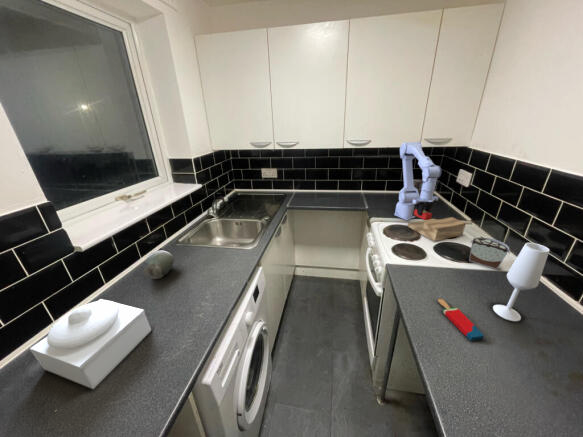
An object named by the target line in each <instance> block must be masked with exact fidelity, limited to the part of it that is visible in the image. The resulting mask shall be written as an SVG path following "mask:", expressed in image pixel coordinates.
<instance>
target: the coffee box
mask: <svg viewBox="0 0 583 437" xmlns="http://www.w3.org/2000/svg"><path fill="white" fill-rule="evenodd" d="M413 184H414V187H415V188H416V189H418V193H419V196H420V194H421V189H422V185H423V181H422V179H413ZM405 193H409V192H405Z"/></svg>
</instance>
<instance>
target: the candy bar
mask: <svg viewBox="0 0 583 437" xmlns="http://www.w3.org/2000/svg"><path fill="white" fill-rule="evenodd" d="M413 216H415V217H417V218H420V219H421V220H430V219H432V216H433V213H432V212H430V211H429V212H427V211H425V210H423V213H422V215H421V216H420V215H418V214H417V208H414V210H413Z"/></svg>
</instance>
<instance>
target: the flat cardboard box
mask: <svg viewBox="0 0 583 437" xmlns="http://www.w3.org/2000/svg"><path fill="white" fill-rule="evenodd" d="M466 224H467V222H465V221H462V220H460V219H458V218H455V217H453V216H449V217H445V218H439V219H436V218H431V219H430V220H424V219H422V220H419V221H414V222H408V223H407V228H410V229H411V230H413V231H415V232H417V233H419V234H421V235H423V236H424V237H426V238H428V239H429V240H431V241H432V242H439V241H443V240H449V239H451V238H456V237H460V236H463V235H464V231H465V228H466Z"/></svg>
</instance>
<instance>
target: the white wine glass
mask: <svg viewBox="0 0 583 437" xmlns="http://www.w3.org/2000/svg"><path fill="white" fill-rule="evenodd" d="M549 254H550V248H549V247H547V246H545V245H542V244H539V243H536V242H526V243H524V245H523V247H522V248H521V250H520V252H519V253H518V255H517V256H516V258H515V260H514V262H513V263H512V265H511V267H510V268H509V269H508V272H507V273H506V279H507V280H508V283H509V284H510V285H511V286H512V287H513V288H514V289H513V291H512V293H511V295H510V298H509V300H508V302H507V304H506V305H504V304H494V305H493V306H492V310H493V311H494V313H495V314H496V315H498V316H499V317H501V318H502V319H505V320H508V321H512V322H520V321H521V319H522V316H521V315H520V313H519V312H518V311H516V310H515V309H513V306H514V304H515V302H516V301H517V298H518V295H519V293H520V291H528V290H529V291H530V290H533V289H535V288H537V287H538V286H539V285H540V280H541V278H542V274H543V272H544V268H545V266H546V262H547V259H548V256H549Z"/></svg>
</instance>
